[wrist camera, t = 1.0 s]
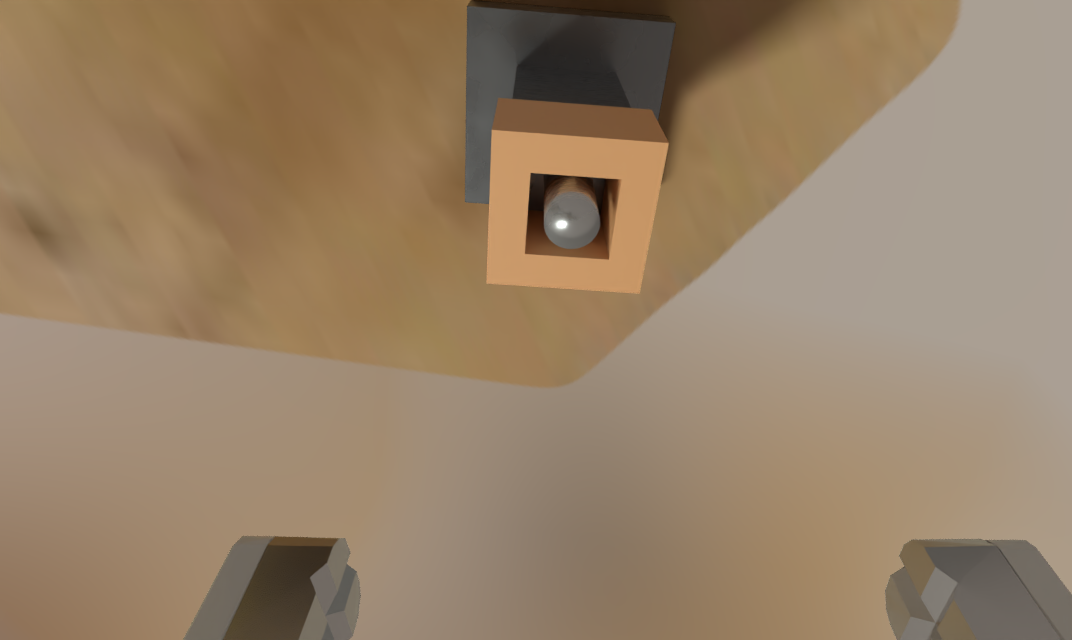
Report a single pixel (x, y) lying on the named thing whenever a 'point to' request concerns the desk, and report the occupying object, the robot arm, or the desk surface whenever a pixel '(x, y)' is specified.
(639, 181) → the collar
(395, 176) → the desk surface
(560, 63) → the stand
